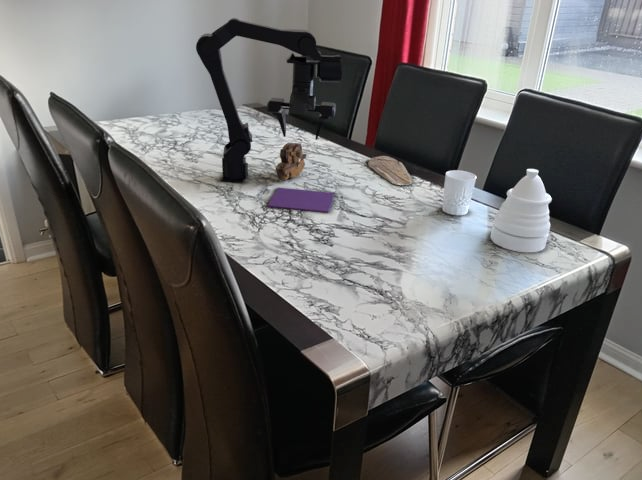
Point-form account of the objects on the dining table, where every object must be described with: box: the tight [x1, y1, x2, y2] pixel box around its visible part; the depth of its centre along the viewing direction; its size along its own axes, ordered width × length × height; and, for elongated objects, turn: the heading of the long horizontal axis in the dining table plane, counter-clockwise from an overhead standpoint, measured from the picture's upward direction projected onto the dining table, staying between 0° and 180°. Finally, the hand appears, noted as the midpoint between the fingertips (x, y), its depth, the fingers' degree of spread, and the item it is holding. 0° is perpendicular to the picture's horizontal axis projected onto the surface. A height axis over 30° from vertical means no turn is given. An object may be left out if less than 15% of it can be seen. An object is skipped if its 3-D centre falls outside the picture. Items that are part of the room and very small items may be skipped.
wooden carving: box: [275, 142, 308, 181], centre depth 169 cm, size 16×5×10 cm, turn 161°
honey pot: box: [490, 168, 553, 253], centre depth 135 cm, size 13×13×18 cm
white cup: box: [441, 169, 477, 216], centre depth 152 cm, size 8×8×10 cm
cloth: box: [267, 187, 335, 214], centre depth 156 cm, size 16×14×1 cm
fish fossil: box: [367, 155, 413, 186], centre depth 181 cm, size 26×10×1 cm, turn 18°
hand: (300, 138), depth 164 cm, fingers open, 9 cm apart
